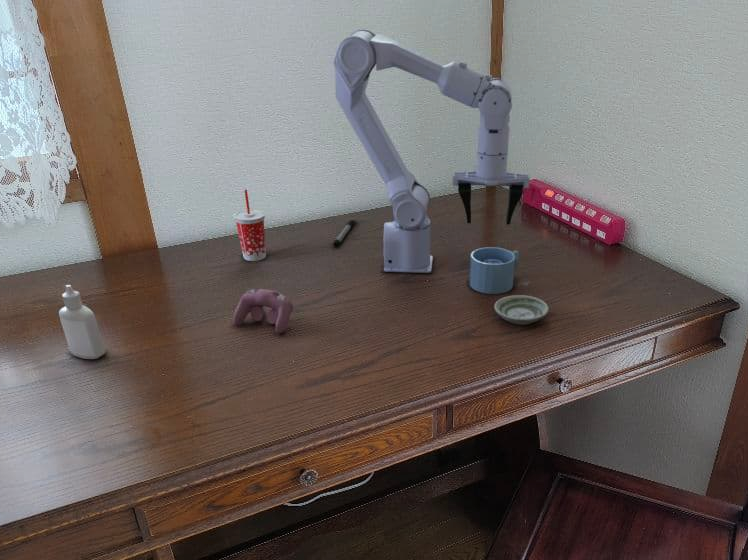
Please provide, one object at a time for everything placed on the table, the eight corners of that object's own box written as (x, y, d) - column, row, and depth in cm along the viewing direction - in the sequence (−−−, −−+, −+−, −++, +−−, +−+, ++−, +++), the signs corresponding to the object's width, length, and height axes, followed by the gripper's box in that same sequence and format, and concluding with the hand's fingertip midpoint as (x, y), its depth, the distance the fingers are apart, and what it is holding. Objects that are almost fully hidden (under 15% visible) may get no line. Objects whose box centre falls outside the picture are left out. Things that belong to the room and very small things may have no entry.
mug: (492, 298, 138) (493, 268, 135) (460, 283, 143) (461, 254, 140) (531, 281, 145) (534, 252, 141) (500, 268, 150) (502, 240, 146)
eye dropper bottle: (80, 365, 116) (59, 296, 109) (68, 351, 119) (47, 283, 112) (108, 356, 118) (89, 288, 111) (95, 342, 122) (76, 276, 115)
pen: (332, 247, 157) (332, 241, 156) (352, 220, 170) (351, 215, 170) (338, 248, 157) (337, 242, 156) (357, 221, 170) (357, 215, 170)
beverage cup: (276, 255, 153) (268, 188, 145) (254, 264, 149) (245, 197, 141) (254, 248, 156) (245, 183, 148) (233, 258, 151) (222, 191, 144)
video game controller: (293, 334, 128) (298, 294, 127) (280, 334, 124) (285, 293, 123) (244, 324, 131) (248, 285, 130) (229, 324, 127) (234, 284, 125)
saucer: (517, 301, 137) (518, 289, 136) (558, 319, 132) (559, 307, 130) (482, 317, 132) (483, 305, 130) (523, 336, 126) (524, 324, 125)
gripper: (452, 156, 133) (450, 228, 140) (532, 158, 132) (526, 230, 140) (454, 145, 139) (452, 215, 146) (530, 148, 138) (524, 217, 146)
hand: (488, 222), depth 144 cm, fingers open, 7 cm apart
